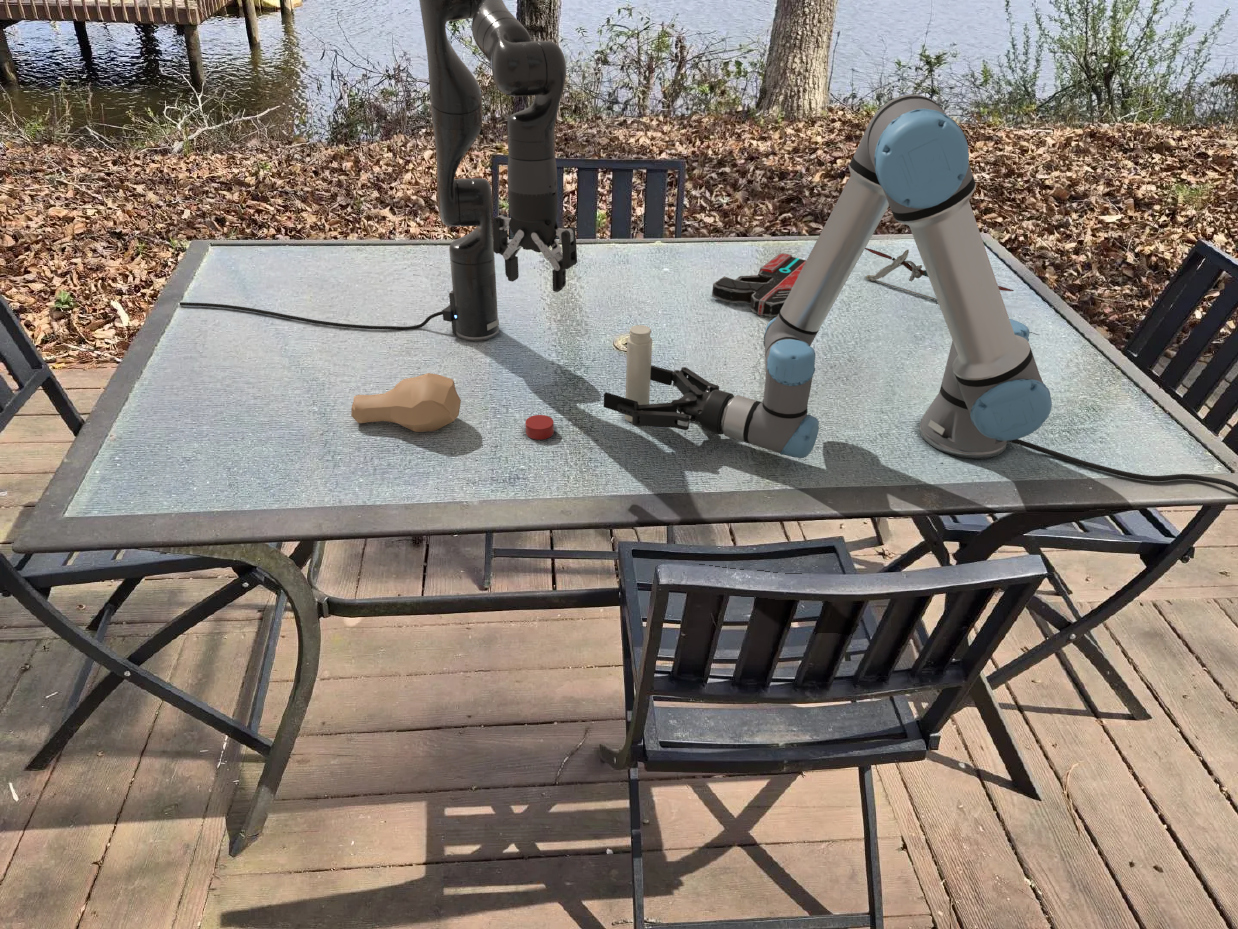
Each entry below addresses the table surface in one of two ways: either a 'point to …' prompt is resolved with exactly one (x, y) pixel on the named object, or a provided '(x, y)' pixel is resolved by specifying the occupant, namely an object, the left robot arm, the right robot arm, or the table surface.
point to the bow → (901, 261)
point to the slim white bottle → (638, 365)
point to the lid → (539, 427)
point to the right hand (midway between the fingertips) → (623, 384)
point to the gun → (762, 285)
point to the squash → (412, 404)
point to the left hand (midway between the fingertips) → (535, 285)
